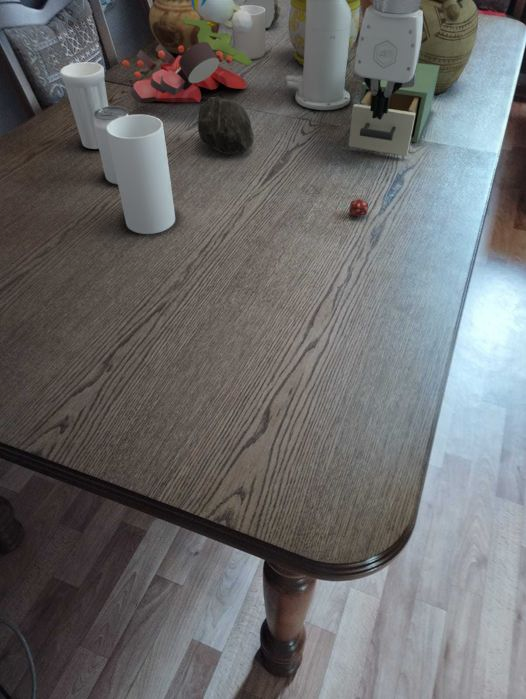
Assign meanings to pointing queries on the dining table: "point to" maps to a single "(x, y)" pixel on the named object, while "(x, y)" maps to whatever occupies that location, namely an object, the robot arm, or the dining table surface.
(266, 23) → the sculpture
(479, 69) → the dining table surface
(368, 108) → the drawer
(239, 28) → the sushi set
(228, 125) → the rock
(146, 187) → the cup
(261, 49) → the mug
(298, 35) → the flowerpot
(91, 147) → the cup
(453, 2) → the ceramic vessel
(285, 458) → the dining table surface
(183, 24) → the clay pot
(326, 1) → the robot arm
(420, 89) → the cabinet
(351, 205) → the die
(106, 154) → the can
